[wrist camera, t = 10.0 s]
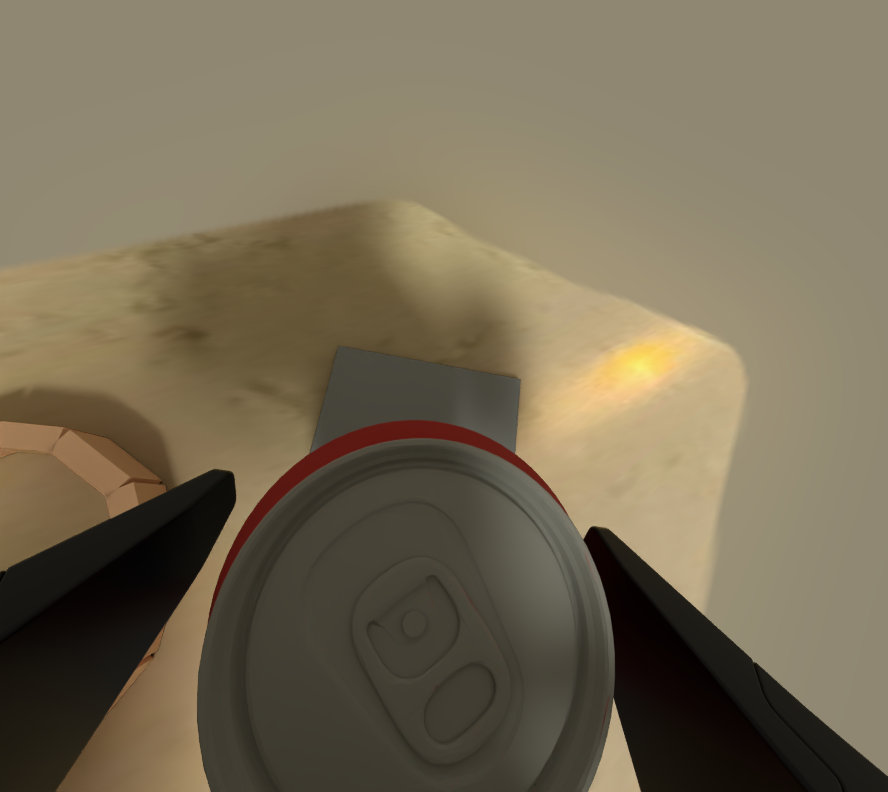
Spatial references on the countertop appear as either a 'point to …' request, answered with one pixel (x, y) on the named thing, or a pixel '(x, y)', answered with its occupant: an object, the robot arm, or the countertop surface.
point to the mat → (415, 396)
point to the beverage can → (407, 627)
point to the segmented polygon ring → (90, 475)
